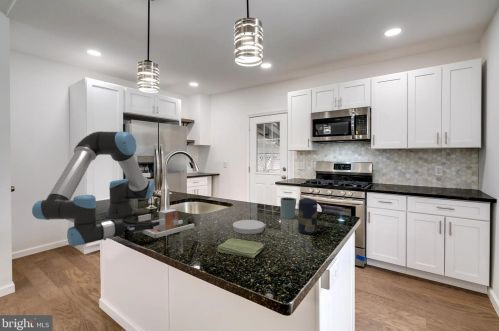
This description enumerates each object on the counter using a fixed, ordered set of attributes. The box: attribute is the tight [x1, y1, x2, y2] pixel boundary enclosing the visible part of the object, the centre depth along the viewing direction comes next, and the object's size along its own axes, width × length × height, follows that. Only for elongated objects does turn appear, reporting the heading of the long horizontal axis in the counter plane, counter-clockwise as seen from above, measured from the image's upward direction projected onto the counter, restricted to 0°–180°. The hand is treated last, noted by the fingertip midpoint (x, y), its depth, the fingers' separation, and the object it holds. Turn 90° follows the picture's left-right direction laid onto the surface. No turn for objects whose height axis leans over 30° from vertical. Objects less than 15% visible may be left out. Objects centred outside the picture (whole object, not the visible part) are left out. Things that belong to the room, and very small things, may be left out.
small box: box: [158, 208, 179, 232], centre depth 127 cm, size 8×6×10 cm
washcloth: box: [215, 237, 265, 259], centre depth 102 cm, size 13×18×3 cm
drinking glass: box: [280, 196, 297, 220], centre depth 156 cm, size 10×10×12 cm
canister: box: [297, 197, 318, 235], centre depth 126 cm, size 10×10×18 cm
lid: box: [232, 219, 267, 235], centre depth 132 cm, size 17×20×3 cm
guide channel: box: [142, 219, 195, 239], centre depth 128 cm, size 12×23×2 cm, turn 140°
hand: (157, 218), depth 122 cm, fingers open, 13 cm apart
